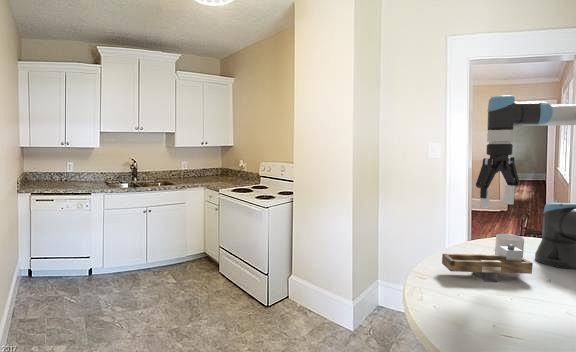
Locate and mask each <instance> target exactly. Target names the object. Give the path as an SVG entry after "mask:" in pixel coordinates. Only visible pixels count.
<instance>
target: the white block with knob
mask: <svg viewBox="0 0 576 352" xmlns="http://www.w3.org/2000/svg"><path fill="white" fill-rule="evenodd" d="M499 261H509V262H522V250H520V249H518V248H516V247H515V245H512V244H508V247H501V246H500V253H499Z"/></svg>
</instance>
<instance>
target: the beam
mask: <svg viewBox="0 0 576 352" xmlns="http://www.w3.org/2000/svg"><path fill="white" fill-rule="evenodd" d="M441 264H442V265H443V266H444V267H445V268H446V269H447V270H448V271H450V272H453V273H454V272H459V273H461V272H462V273H463V272H465V273H473V274H475V275H476V276H477V277H478V278H480V279H481V280H482V281H483V282H484V283H486V282H487V283H498V280H499V274H525V275H526V274H527V275H528V274H529V275H531V274H533V264H534V263H533V262H531V261H530V260H528V259H525V258H524V257H523V258H522V262H509V261H499V255H495V254H490V253H486V254H485V253H471V254H470V253H469V254H468V253H466V254H464V253H442V257H441Z"/></svg>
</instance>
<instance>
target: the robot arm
mask: <svg viewBox="0 0 576 352" xmlns="http://www.w3.org/2000/svg"><path fill="white" fill-rule="evenodd" d="M521 126H522V127H523V126H524V127H527V126H528V127H529V126H531V127H532V126H540V127H541V126H576V103H575V104H551V103H550V102H548V101H540V100H538V101H520V102H519V101H516V100H515V96H514V95H495V96H491V97H490V98H489V99H488V105H487V134H486V137H487V138H486V139H487V141H486V142H487V145H486V155H487V156H489V157H488V158H487V157H484V158H483V159H482V164H481V165H482V166H481V168H480V171H479V174H478V178H477V179H476V183H475V187H476V188H477V189H479V190H480V192H479V193H480V194H479V196H480V197H479V198H480V200H479V203H480V205H479V208H481V209H486V210H488V209H490V202H491V201H490V200H491V199H490V198H491V197H490V196H491V194H490V193H491V188H489V187H490V185H491V184H492V181H493V180H494V178H495V176H496V175H497V173H499V172H501V175H502V176H503V179H504V181H505V183H506V185H504V187H505V188H504V205H514V203H515V201H514V200H515V186H516V187H517V186H519V183H520V179H519V175H518V172H517V167H516V164H515V157H514V156H512V155H513V150H514V149H513V148H514V147H513V146H514V145H513V144H512V143H513V142H514V127H521ZM542 217H543V218H542V219H543V221H542V231H541V232H542V234H541V240H540V243H539V245H538V247H537V249H536V251H535V253H534V260H536V261H537V262H538V263H539V262H540V263H541V264H543V265H547V266H551V267H556V268H562V269H572V270H573V269H576V203H573V202H549V203H546V204H545V205H544V209H543V216H542Z"/></svg>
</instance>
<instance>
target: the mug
mask: <svg viewBox="0 0 576 352" xmlns="http://www.w3.org/2000/svg"><path fill="white" fill-rule="evenodd" d="M508 244H512V245H515V247H516V248H518V249H520V250H522V258H524V249H525V238H524V237H522V236H519V235H518V234H517V235H516V234H510V233H497V234H496V235H495V248H494V249H495V250H494V255H499V253H500V246H501V247H508Z"/></svg>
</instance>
